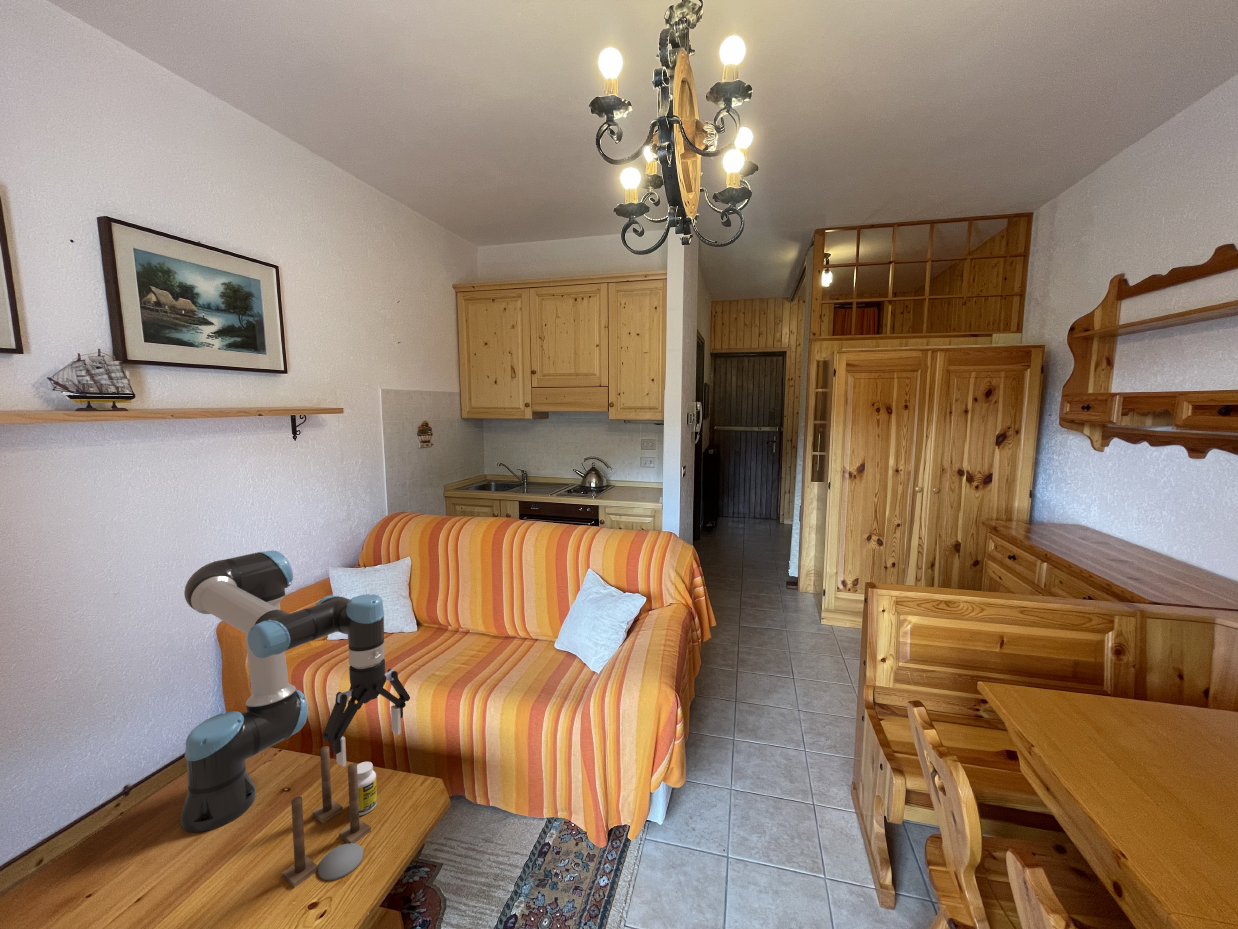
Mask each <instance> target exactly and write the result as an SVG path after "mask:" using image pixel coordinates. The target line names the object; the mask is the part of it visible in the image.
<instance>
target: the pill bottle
mask: <svg viewBox="0 0 1238 929" xmlns="http://www.w3.org/2000/svg"><path fill="white" fill-rule="evenodd" d="M373 767H374V765H373V763H372V762H371V761H363V762H359V763H357V775H358V799H359V816H364V815H366V814H368V813H370V812H372V811H373V809H375V807H376V806H377V803H378V793H377V792H378V791H377V789H378V788H377V786H378V785H377V773H376V772H375V771H374V768H373Z"/></svg>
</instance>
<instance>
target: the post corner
mask: <svg viewBox="0 0 1238 929" xmlns="http://www.w3.org/2000/svg"><path fill="white" fill-rule="evenodd" d="M357 765H358V763H350V764H349V765H348V766H347V780H348V802H349V803H348V804H349V806H348V807H349V825H348V826H347V827H345V828H344V829H343V830H341V831H339V833H338V836H339V837H340V839H342V840H343V841H344V842H346V844H348V843H356V842H358V841H359V840H361V839H362V838H364V837H365V836H366V835H368V834H369V833H370V832H371V831H372V827H371V826H370V825H369V824H367V823H366V822H365V821H363V820H362V819H361V818H360V815H359V799H358V775H357Z"/></svg>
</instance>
